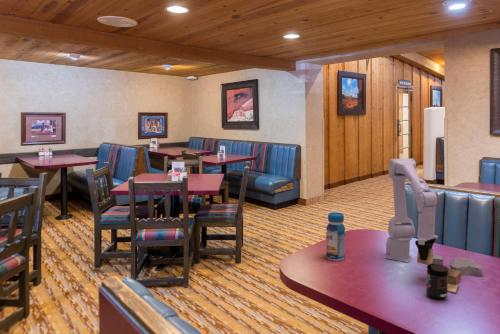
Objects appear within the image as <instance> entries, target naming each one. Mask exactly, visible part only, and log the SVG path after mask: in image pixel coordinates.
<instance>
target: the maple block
mask: <svg viewBox="0 0 500 334" xmlns="http://www.w3.org/2000/svg"><path fill="white" fill-rule="evenodd" d="M433 255H434V249H433V248H432V249H429V253H428V257H427V260H426V261H425V260H420V256H419V251H418V250H417V256H416V257H417V258H416V259H417V261H416V262H417V263H418V264H422V265H425V266H427V265H429V264H431V263H432V262H433Z"/></svg>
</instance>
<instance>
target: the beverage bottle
mask: <svg viewBox="0 0 500 334" xmlns="http://www.w3.org/2000/svg"><path fill="white" fill-rule="evenodd" d="M327 221H328V224H327V225H326V228H325V229H326V233H325V237H326V238H325V239H326V251H325V252H326V254H325V255H326V257H325V258H327V259H328V260H331V261H336V262H337V261H338V262H339V261H343V260H344V259H345V257H346V253H345V251H346V249H345V247H346V233H345V231H346V228H345V225H344V221H345V220H344V214H343V213H342V212H329V213H328V215H327Z"/></svg>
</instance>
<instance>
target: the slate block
mask: <svg viewBox="0 0 500 334" xmlns="http://www.w3.org/2000/svg"><path fill="white" fill-rule="evenodd" d="M431 264H439V265H443V266H444V258H443V255H438V254H437V255H436V254H433V262H432V263H431Z"/></svg>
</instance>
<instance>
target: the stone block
mask: <svg viewBox="0 0 500 334" xmlns="http://www.w3.org/2000/svg"><path fill="white" fill-rule="evenodd" d="M450 264H451V269H454V270H458V271H461V276H465V277H466V276H468V277H469V276H471V277H473V276H474V277H481V276H482V275H483V267H482V264H479V263H478V262H476V260H475V259H474V258H466V257H456V258H455V257H454V258H451V259H450ZM482 277H483V276H482Z"/></svg>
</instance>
